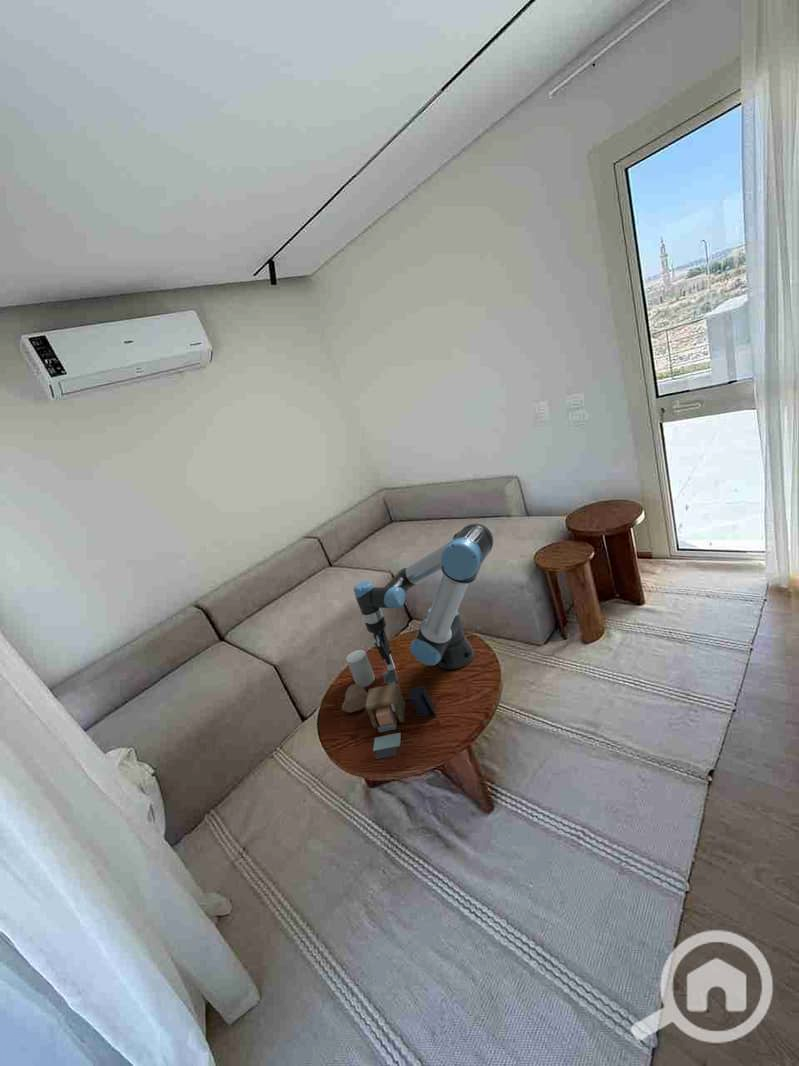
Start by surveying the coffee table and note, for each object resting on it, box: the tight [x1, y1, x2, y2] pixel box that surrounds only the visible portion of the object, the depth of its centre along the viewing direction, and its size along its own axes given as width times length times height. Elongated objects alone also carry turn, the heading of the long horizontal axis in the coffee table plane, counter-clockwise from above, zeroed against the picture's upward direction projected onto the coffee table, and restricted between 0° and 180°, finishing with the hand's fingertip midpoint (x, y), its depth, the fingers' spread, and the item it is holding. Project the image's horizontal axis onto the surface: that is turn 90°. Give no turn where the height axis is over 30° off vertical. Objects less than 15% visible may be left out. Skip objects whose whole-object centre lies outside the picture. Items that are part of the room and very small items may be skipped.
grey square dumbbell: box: [377, 668, 399, 733], centre depth 159 cm, size 6×26×5 cm, turn 177°
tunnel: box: [365, 682, 406, 728], centre depth 154 cm, size 11×9×9 cm
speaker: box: [408, 683, 437, 717], centre depth 150 cm, size 8×6×10 cm
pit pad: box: [374, 747, 398, 760], centre depth 139 cm, size 7×3×1 cm, turn 87°
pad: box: [372, 732, 402, 752], centre depth 144 cm, size 9×6×1 cm, turn 87°
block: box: [376, 705, 394, 726], centre depth 150 cm, size 5×5×5 cm
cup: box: [345, 649, 376, 688], centre depth 177 cm, size 8×8×12 cm
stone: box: [341, 683, 368, 713], centre depth 165 cm, size 12×9×10 cm
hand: (391, 668), depth 176 cm, fingers closed
